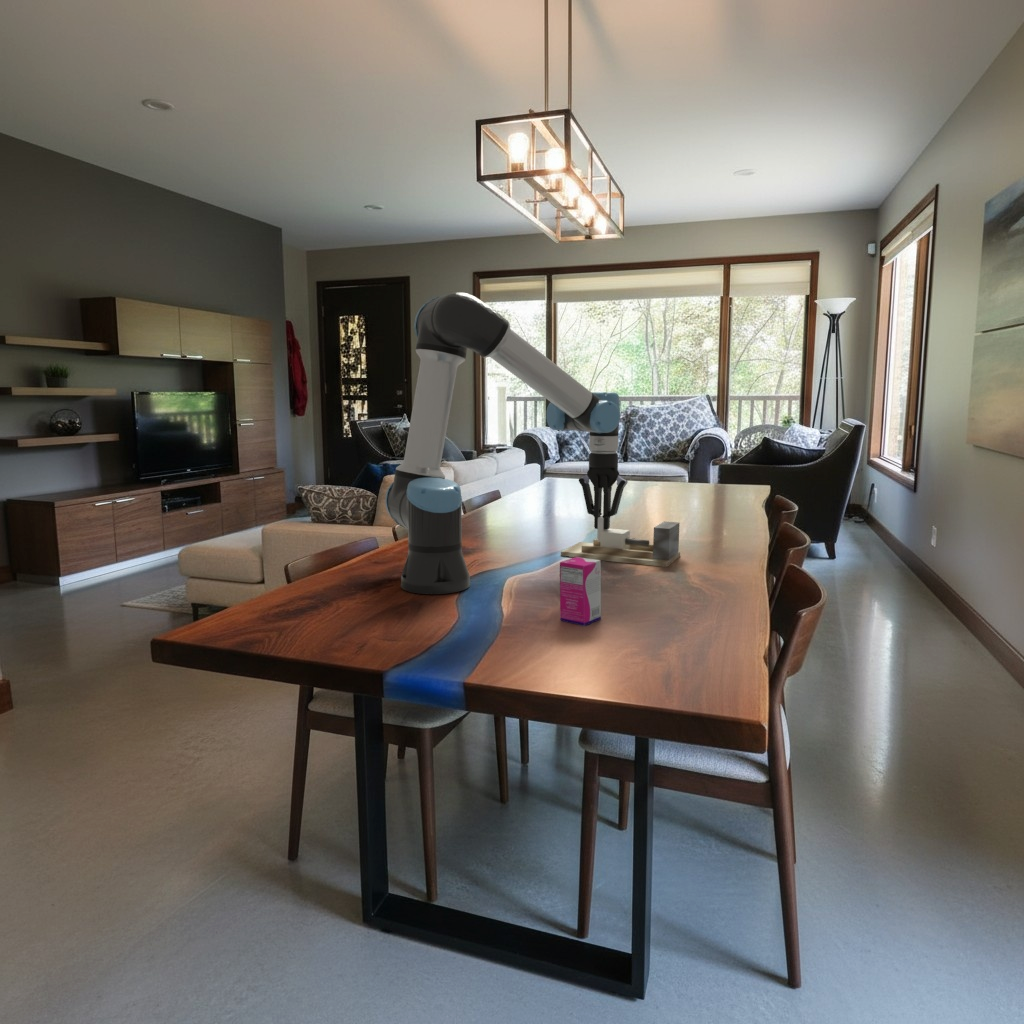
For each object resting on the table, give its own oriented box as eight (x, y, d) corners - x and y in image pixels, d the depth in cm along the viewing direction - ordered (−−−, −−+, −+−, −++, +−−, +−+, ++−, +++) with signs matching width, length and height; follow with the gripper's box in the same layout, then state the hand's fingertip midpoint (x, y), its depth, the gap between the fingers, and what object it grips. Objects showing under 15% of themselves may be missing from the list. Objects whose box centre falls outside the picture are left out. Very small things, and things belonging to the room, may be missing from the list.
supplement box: (575, 613, 146) (576, 555, 145) (601, 619, 143) (603, 560, 141) (558, 620, 142) (559, 561, 140) (584, 626, 138) (585, 565, 137)
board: (560, 555, 197) (561, 521, 196) (580, 546, 210) (580, 513, 208) (666, 566, 185) (667, 530, 184) (680, 555, 198) (681, 521, 196)
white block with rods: (600, 550, 197) (600, 532, 196) (612, 544, 206) (612, 525, 205) (644, 555, 192) (645, 535, 191) (655, 548, 200) (656, 529, 200)
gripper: (574, 452, 195) (573, 541, 199) (623, 454, 190) (620, 546, 193) (585, 450, 202) (583, 536, 206) (632, 452, 196) (629, 540, 200)
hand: (601, 541), depth 199 cm, fingers closed
